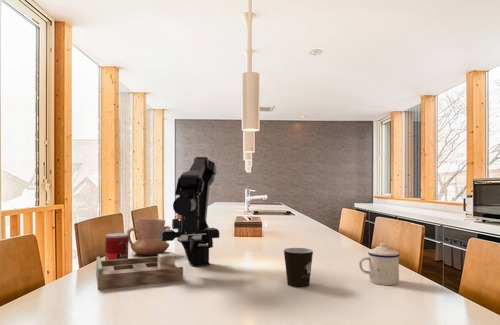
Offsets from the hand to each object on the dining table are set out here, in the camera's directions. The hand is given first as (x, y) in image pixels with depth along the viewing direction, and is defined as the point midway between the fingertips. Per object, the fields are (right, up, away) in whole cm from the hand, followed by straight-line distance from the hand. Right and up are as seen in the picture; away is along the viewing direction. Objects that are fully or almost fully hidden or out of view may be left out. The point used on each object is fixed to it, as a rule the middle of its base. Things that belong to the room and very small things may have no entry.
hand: (189, 260), depth 120 cm
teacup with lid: (+59, -5, -7) cm, 60 cm away
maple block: (-7, -2, -3) cm, 8 cm away
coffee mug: (+35, -4, -10) cm, 37 cm away
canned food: (-28, -5, +13) cm, 32 cm away
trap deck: (-16, -4, -3) cm, 17 cm away
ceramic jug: (-23, -7, +35) cm, 42 cm away
